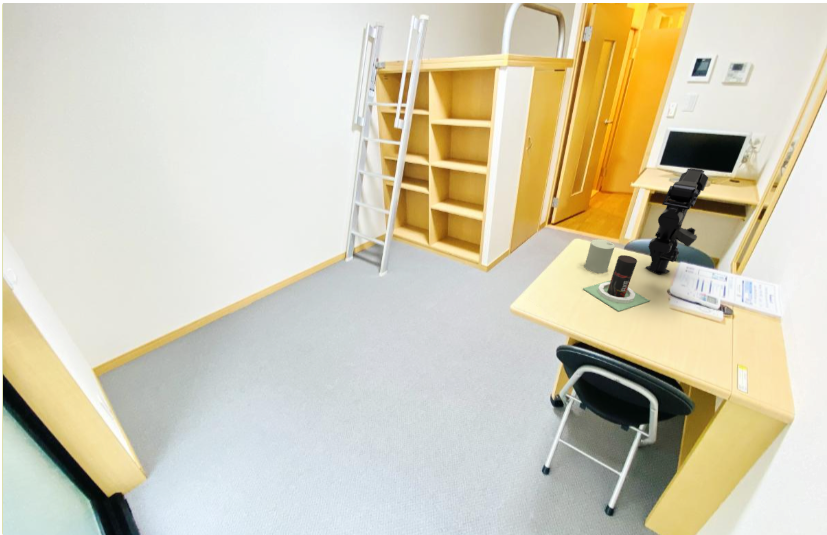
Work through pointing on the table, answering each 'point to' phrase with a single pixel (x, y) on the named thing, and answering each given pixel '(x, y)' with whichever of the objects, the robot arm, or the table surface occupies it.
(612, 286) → the deodorant
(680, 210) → the robot arm
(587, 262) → the can
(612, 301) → the putting mat
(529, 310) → the table surface
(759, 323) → the table surface
